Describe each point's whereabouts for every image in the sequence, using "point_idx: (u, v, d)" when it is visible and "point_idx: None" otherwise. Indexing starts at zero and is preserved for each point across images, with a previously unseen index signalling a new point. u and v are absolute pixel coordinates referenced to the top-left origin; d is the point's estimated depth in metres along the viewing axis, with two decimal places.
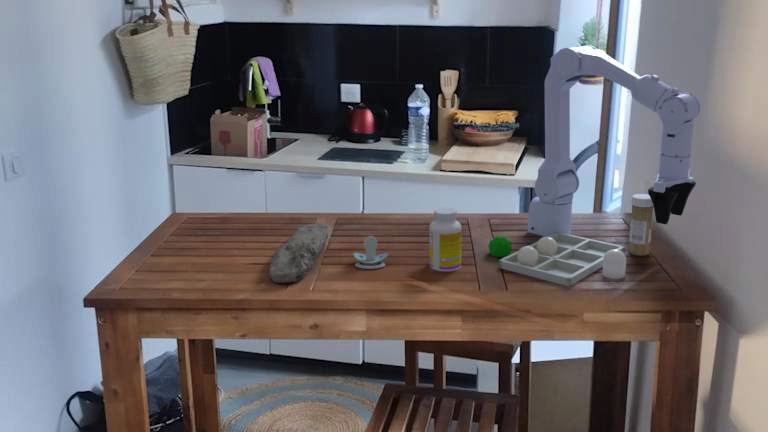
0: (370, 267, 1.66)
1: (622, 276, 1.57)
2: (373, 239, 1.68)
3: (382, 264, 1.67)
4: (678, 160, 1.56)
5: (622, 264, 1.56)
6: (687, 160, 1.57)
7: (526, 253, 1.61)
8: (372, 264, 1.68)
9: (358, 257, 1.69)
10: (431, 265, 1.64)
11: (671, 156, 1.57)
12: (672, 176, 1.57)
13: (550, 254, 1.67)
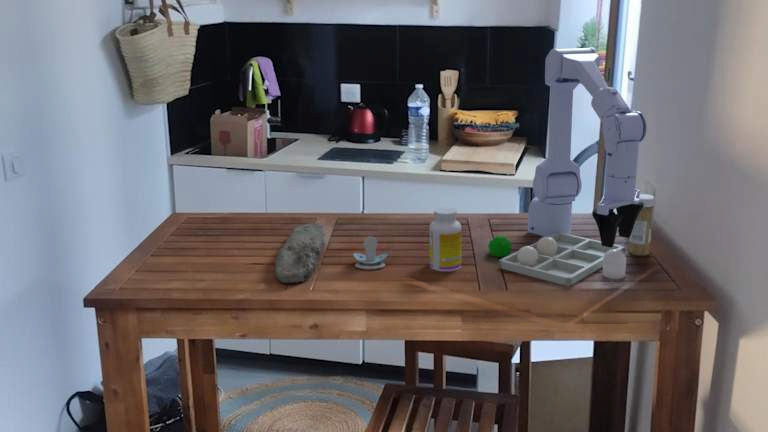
0: (370, 267, 1.65)
1: (622, 276, 1.57)
2: (373, 239, 1.67)
3: (382, 264, 1.67)
4: (623, 181, 1.50)
5: (622, 264, 1.56)
6: (632, 181, 1.50)
7: (526, 253, 1.61)
8: (372, 264, 1.68)
9: (358, 257, 1.69)
10: (431, 265, 1.64)
11: (615, 177, 1.50)
12: (617, 197, 1.51)
13: (550, 254, 1.67)
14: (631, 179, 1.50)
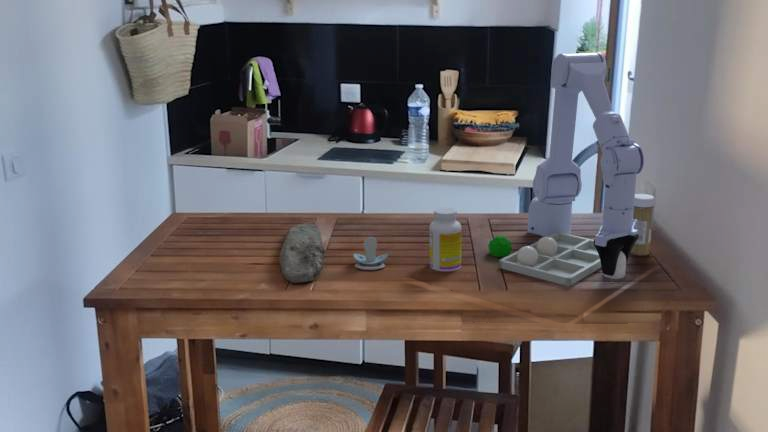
0: (370, 267, 1.65)
1: (622, 276, 1.57)
2: (373, 240, 1.67)
3: (382, 265, 1.66)
4: (620, 213, 1.52)
5: (622, 264, 1.56)
6: (630, 212, 1.52)
7: (526, 253, 1.61)
8: (372, 265, 1.67)
9: (358, 258, 1.68)
10: (431, 265, 1.64)
11: (613, 208, 1.52)
12: (615, 229, 1.53)
13: (550, 254, 1.67)
14: (629, 211, 1.52)
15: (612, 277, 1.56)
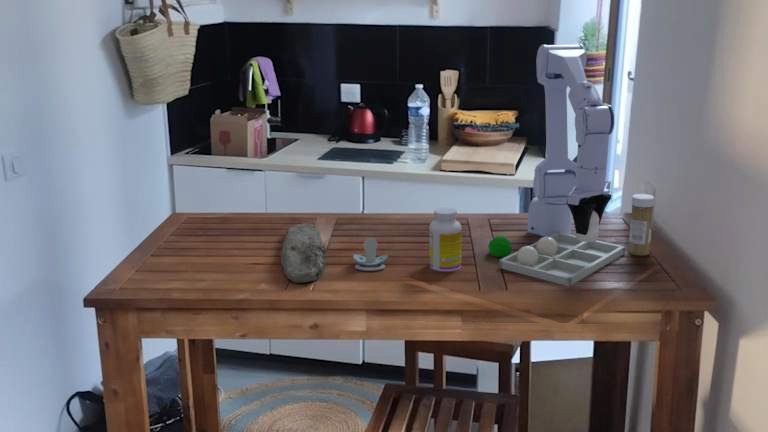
0: (370, 268, 1.65)
1: (595, 235, 1.60)
2: (373, 240, 1.67)
3: (382, 266, 1.66)
4: (593, 172, 1.55)
5: (595, 224, 1.59)
6: (602, 172, 1.55)
7: (526, 253, 1.61)
8: (372, 266, 1.67)
9: (358, 259, 1.68)
10: (431, 265, 1.64)
11: (586, 168, 1.55)
12: (587, 188, 1.56)
13: (550, 254, 1.67)
14: (601, 170, 1.55)
15: (585, 236, 1.59)
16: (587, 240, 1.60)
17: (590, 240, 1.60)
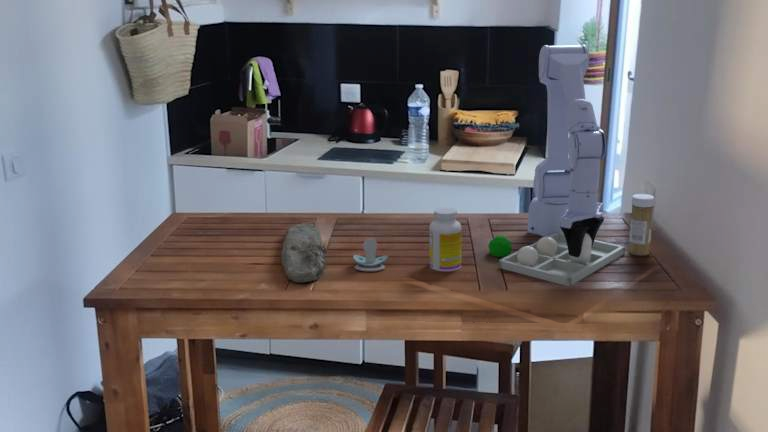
0: (370, 269, 1.64)
1: (588, 257, 1.62)
2: (373, 241, 1.66)
3: (382, 266, 1.66)
4: (585, 196, 1.57)
5: (587, 246, 1.61)
6: (594, 195, 1.58)
7: (526, 253, 1.61)
8: (372, 266, 1.66)
9: (358, 259, 1.68)
10: (431, 265, 1.64)
11: (578, 192, 1.57)
12: (580, 211, 1.58)
13: (550, 254, 1.67)
14: (593, 194, 1.57)
15: (578, 258, 1.62)
16: (580, 262, 1.62)
17: (583, 262, 1.62)
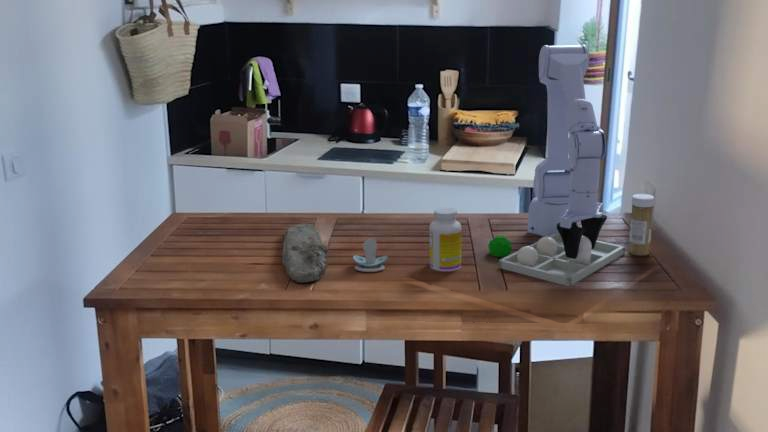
0: (370, 269, 1.64)
1: (587, 261, 1.62)
2: (373, 241, 1.66)
3: (382, 267, 1.65)
4: (585, 196, 1.57)
5: (587, 250, 1.61)
6: (594, 195, 1.58)
7: (526, 253, 1.61)
8: (372, 267, 1.66)
9: (358, 260, 1.67)
10: (431, 265, 1.64)
11: (578, 192, 1.57)
12: (580, 211, 1.58)
13: (550, 254, 1.67)
14: (593, 194, 1.57)
15: (578, 262, 1.62)
16: None
17: None
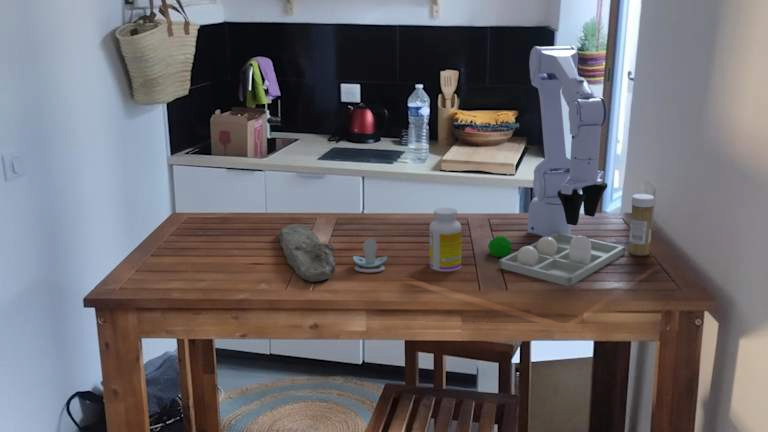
0: (369, 270, 1.64)
1: (587, 261, 1.62)
2: (372, 242, 1.66)
3: (382, 267, 1.65)
4: (586, 163, 1.59)
5: (587, 250, 1.61)
6: (595, 163, 1.60)
7: (526, 253, 1.61)
8: (372, 267, 1.66)
9: (357, 260, 1.67)
10: (431, 265, 1.64)
11: (579, 159, 1.60)
12: (580, 178, 1.60)
13: (550, 254, 1.67)
14: (594, 161, 1.59)
15: (578, 262, 1.62)
16: None
17: None
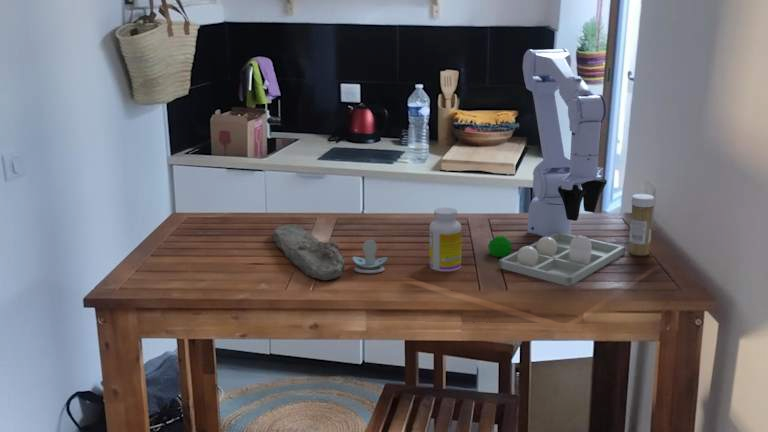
0: (369, 271, 1.63)
1: (587, 261, 1.62)
2: (372, 243, 1.65)
3: (381, 268, 1.64)
4: (586, 159, 1.62)
5: (587, 250, 1.61)
6: (595, 159, 1.62)
7: (526, 253, 1.61)
8: (371, 268, 1.65)
9: (357, 261, 1.67)
10: (431, 265, 1.64)
11: (579, 155, 1.62)
12: (580, 174, 1.63)
13: (550, 254, 1.67)
14: (593, 157, 1.62)
15: (578, 262, 1.62)
16: None
17: None
